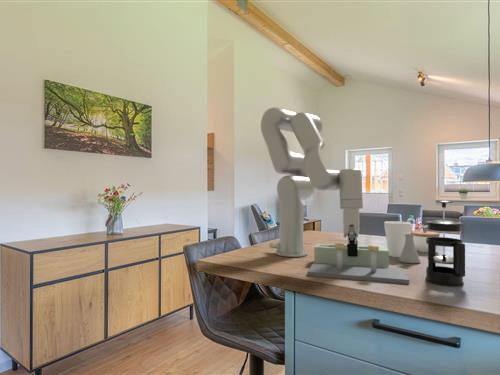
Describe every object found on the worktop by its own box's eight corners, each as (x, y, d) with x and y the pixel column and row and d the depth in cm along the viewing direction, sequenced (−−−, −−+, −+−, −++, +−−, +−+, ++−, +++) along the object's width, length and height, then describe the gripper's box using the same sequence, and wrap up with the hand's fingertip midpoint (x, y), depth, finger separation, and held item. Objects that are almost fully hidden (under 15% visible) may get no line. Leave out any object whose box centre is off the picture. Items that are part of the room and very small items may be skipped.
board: (307, 275, 100) (307, 246, 100) (313, 266, 112) (313, 239, 112) (409, 284, 91) (409, 251, 91) (403, 272, 104) (403, 243, 104)
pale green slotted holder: (314, 264, 115) (314, 246, 115) (316, 259, 122) (316, 243, 122) (388, 269, 108) (388, 251, 108) (387, 264, 114) (387, 247, 114)
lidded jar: (445, 253, 133) (445, 230, 133) (418, 253, 134) (418, 230, 134) (430, 248, 144) (430, 227, 144) (406, 248, 144) (406, 227, 144)
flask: (423, 264, 115) (423, 235, 115) (401, 263, 116) (401, 235, 116) (417, 260, 122) (417, 232, 122) (396, 259, 123) (396, 232, 123)
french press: (416, 277, 98) (416, 200, 98) (443, 275, 100) (443, 199, 100) (447, 289, 87) (447, 201, 87) (477, 287, 88) (477, 201, 88)
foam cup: (414, 255, 129) (414, 222, 129) (406, 259, 123) (406, 224, 123) (389, 252, 136) (389, 220, 136) (380, 255, 129) (380, 222, 129)
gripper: (341, 203, 124) (342, 249, 124) (338, 205, 108) (340, 258, 107) (362, 203, 122) (364, 250, 121) (362, 205, 105) (364, 259, 105)
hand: (352, 253), depth 114 cm, fingers open, 9 cm apart
